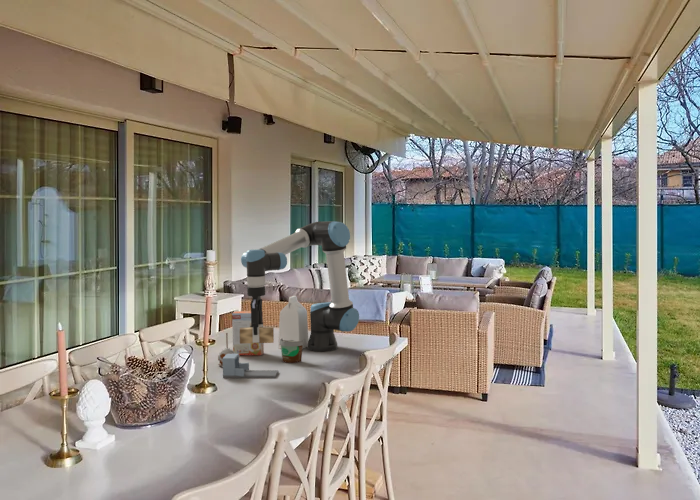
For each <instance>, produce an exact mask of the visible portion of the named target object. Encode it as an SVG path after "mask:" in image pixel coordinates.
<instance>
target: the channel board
mask: <svg viewBox="0 0 700 500" xmlns="http://www.w3.org/2000/svg"><path fill="white" fill-rule="evenodd" d="M278 374H279V370H278V369H277V370H275V369H273V370H271V369H270V370H269V369H268V370H267V369H265V370H264V369H263V370H262V369H257V370H256V369H254V370H253V369H252V370H251V369H250V363H249V362H240V355H239V354H227V355H225V356H224V357H223V367H222V379H276V378H277V376H278Z"/></svg>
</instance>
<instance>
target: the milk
mask: <svg viewBox="0 0 700 500" xmlns="http://www.w3.org/2000/svg"><path fill="white" fill-rule="evenodd" d="M278 319H279V324H278V347H277V348H278V350H281V345H279V343H280V339H282V338H283V340H286V341H290V340H293V341H296V342H297V341H302V340H303V343H304V345H303V346H302V350H303V349H305V348H308V341H309V327H308V310H307V308H306V307H305V306H304V305H303V304H302V303H301V302H300V301H299V300H298V297H297V295H292V296H289V298H288V303H287V304H286V305H285V306H284V307H282V309H281V310H280V312H279V318H278Z"/></svg>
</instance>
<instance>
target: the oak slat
mask: <svg viewBox="0 0 700 500" xmlns="http://www.w3.org/2000/svg"><path fill="white" fill-rule="evenodd" d="M274 332H275V331H274V326H263V327H259V343H264V344H274V342H275V341H274V339H275V338H274V335H275V334H274ZM246 343H253V332H252V327H249V328H240V344H246Z"/></svg>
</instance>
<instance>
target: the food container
mask: <svg viewBox="0 0 700 500" xmlns="http://www.w3.org/2000/svg"><path fill="white" fill-rule="evenodd" d="M278 345H281V349H280V350H281V359H282V363H285V364H296V363H297V364H298V363H301V362H302V359H303V357H302V356H303V349H302V346H303V345H304V343H303V340H302V341H297V342H296V341H293V340H290V341H286V340H283V338H282V339H280V343H279V342H278Z"/></svg>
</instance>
